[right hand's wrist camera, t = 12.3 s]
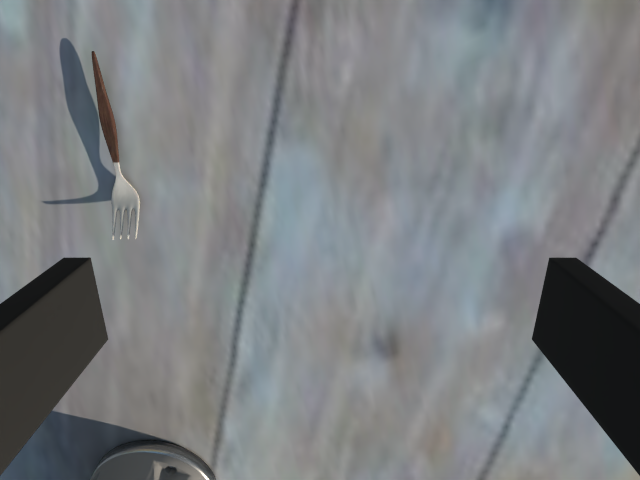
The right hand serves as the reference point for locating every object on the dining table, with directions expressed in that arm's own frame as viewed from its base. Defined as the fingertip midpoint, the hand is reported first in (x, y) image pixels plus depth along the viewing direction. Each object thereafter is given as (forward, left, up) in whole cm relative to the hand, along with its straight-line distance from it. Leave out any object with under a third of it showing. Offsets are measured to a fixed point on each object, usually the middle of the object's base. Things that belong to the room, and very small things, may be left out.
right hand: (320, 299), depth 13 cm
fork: (-18, +4, -28) cm, 33 cm away
